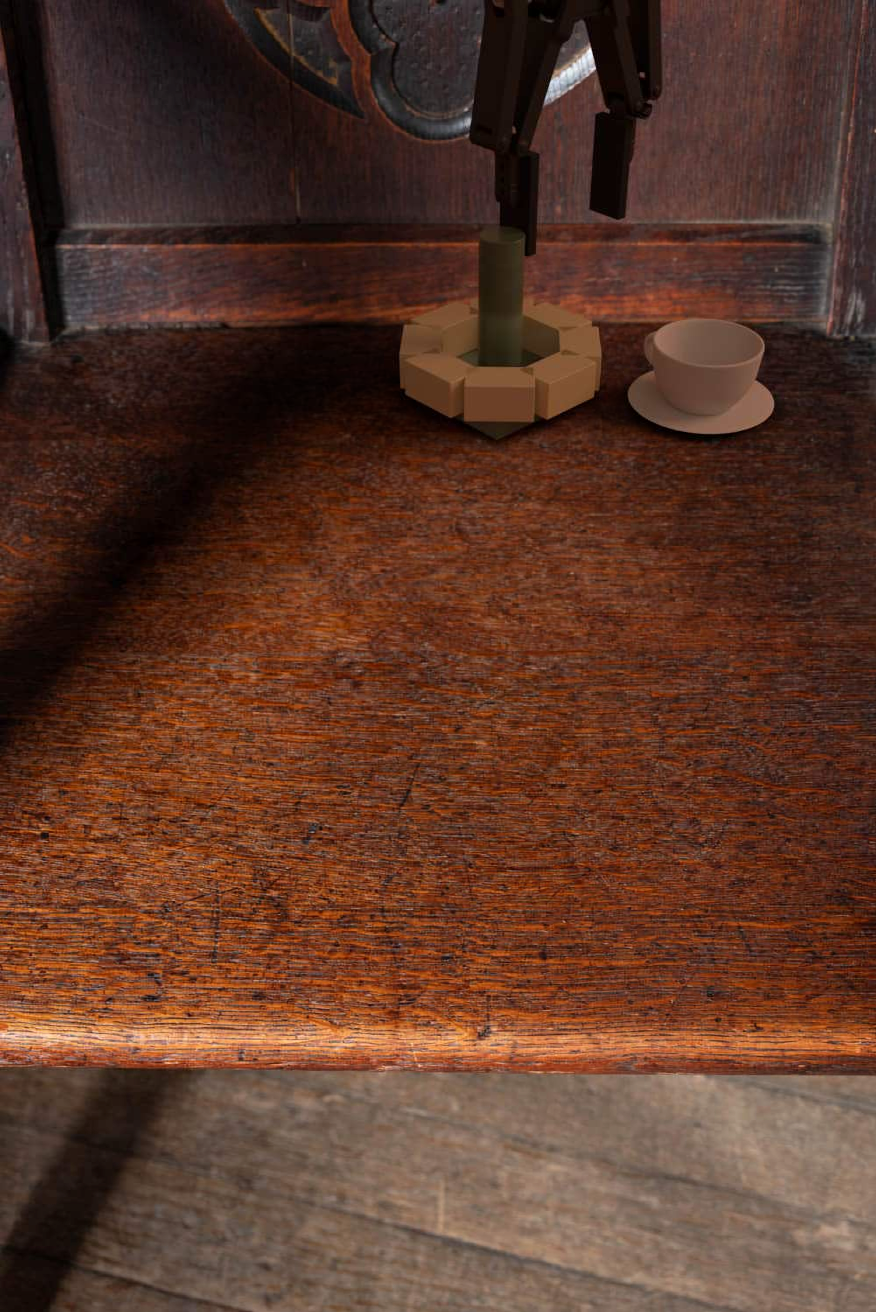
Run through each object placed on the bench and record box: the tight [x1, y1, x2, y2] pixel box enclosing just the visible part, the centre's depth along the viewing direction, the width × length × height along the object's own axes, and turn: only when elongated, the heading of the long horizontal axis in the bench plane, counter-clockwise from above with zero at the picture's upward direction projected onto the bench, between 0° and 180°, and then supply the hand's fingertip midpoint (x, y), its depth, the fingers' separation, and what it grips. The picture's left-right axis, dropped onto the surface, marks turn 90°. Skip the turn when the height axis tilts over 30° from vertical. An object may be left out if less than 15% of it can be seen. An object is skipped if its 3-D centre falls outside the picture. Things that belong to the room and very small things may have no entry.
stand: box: [453, 225, 544, 441], centre depth 85 cm, size 9×9×12 cm
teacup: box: [627, 318, 775, 435], centre depth 86 cm, size 10×10×5 cm
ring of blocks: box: [398, 298, 603, 422], centre depth 87 cm, size 14×14×3 cm
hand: (563, 230), depth 86 cm, fingers open, 8 cm apart
